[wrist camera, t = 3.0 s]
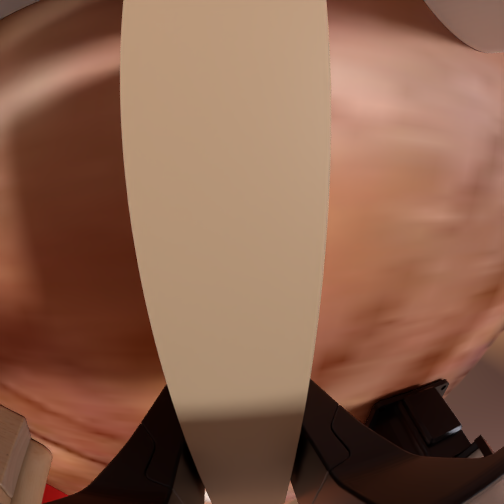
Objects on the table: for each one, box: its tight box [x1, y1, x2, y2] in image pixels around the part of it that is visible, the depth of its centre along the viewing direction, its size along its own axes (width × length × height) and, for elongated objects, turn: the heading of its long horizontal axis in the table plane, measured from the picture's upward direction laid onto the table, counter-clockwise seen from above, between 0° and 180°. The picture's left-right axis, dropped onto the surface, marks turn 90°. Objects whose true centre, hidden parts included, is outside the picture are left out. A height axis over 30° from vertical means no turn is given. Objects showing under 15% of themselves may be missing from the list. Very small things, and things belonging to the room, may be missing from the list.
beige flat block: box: [120, 0, 331, 504], centre depth 7 cm, size 13×2×7 cm, turn 0°
